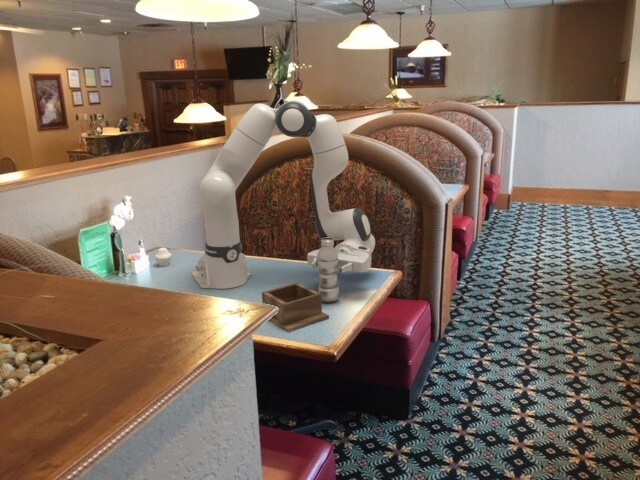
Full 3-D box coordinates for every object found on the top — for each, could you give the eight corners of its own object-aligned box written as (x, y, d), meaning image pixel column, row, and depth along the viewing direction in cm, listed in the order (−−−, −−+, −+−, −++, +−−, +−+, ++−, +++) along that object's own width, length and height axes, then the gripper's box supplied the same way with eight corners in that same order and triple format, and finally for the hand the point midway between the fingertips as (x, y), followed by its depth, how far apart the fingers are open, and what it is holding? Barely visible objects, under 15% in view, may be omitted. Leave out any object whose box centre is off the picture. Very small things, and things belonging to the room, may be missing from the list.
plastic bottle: (337, 305, 165) (336, 242, 160) (316, 304, 167) (314, 241, 161) (341, 297, 171) (340, 236, 166) (320, 296, 173) (318, 235, 167)
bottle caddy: (256, 312, 162) (255, 290, 160) (295, 300, 170) (295, 279, 168) (288, 332, 149) (287, 308, 147) (328, 318, 156) (328, 295, 154)
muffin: (172, 261, 210) (170, 244, 208) (172, 266, 205) (170, 249, 203) (155, 263, 209) (153, 246, 207) (155, 268, 203) (153, 250, 201)
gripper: (318, 242, 181) (297, 253, 169) (375, 249, 172) (357, 262, 160) (319, 260, 183) (298, 272, 171) (375, 268, 173) (357, 282, 162)
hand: (327, 267), depth 165 cm, fingers open, 8 cm apart
